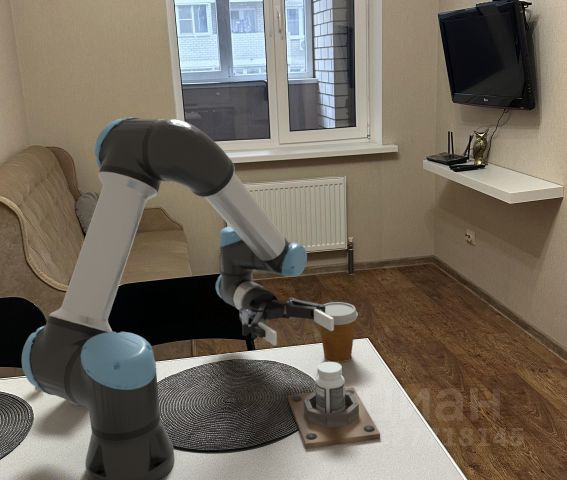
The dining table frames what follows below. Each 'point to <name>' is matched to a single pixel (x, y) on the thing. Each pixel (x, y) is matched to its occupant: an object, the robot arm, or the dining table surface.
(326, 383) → the pill bottle
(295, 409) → the socket plate
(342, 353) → the disposable coffee cup
